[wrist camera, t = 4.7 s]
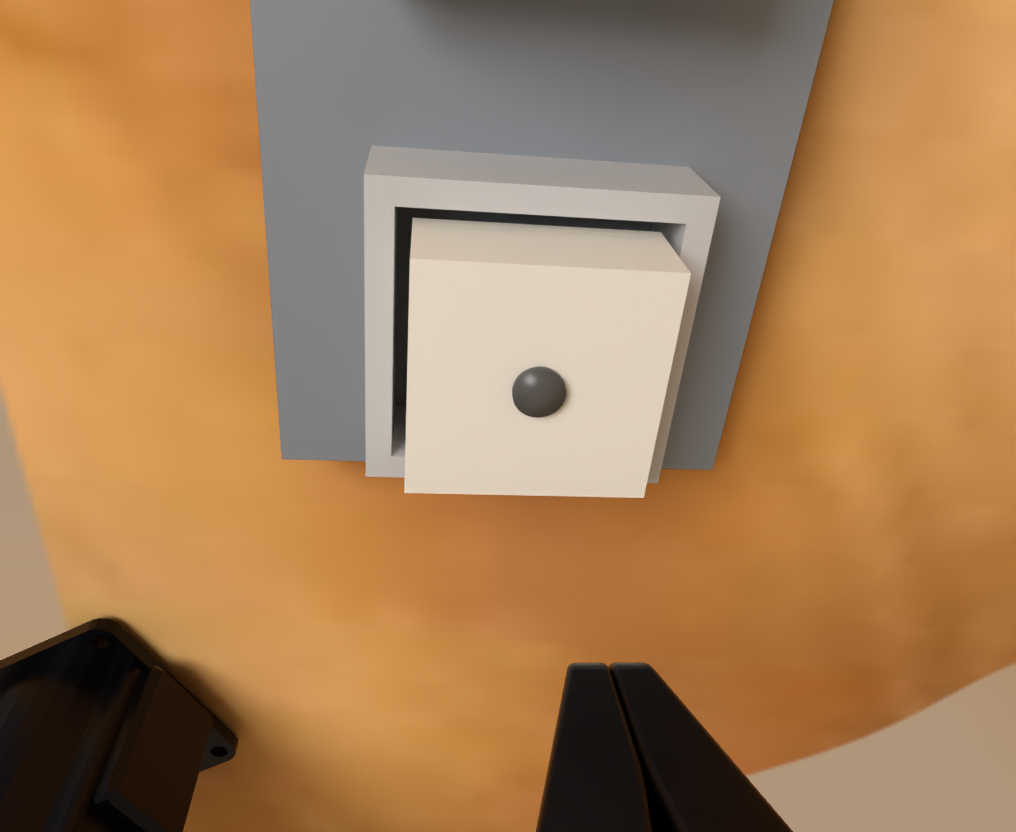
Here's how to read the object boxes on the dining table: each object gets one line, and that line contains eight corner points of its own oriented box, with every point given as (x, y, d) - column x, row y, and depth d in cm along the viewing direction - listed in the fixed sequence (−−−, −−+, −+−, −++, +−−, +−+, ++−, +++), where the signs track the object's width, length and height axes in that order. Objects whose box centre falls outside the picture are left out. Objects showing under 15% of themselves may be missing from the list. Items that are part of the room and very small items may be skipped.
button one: (622, 439, 17) (645, 502, 15) (407, 433, 16) (404, 498, 14) (660, 232, 15) (694, 277, 13) (412, 217, 14) (409, 261, 12)
